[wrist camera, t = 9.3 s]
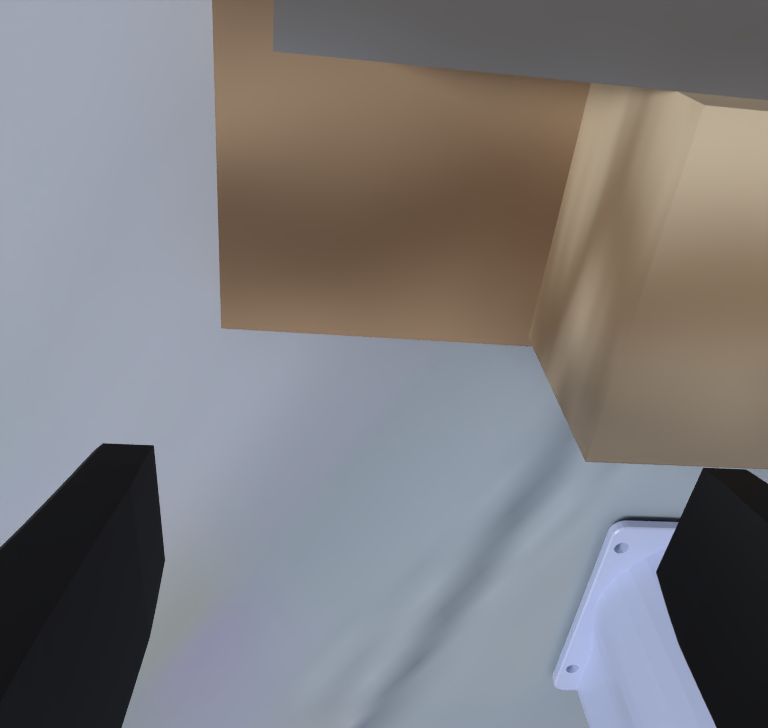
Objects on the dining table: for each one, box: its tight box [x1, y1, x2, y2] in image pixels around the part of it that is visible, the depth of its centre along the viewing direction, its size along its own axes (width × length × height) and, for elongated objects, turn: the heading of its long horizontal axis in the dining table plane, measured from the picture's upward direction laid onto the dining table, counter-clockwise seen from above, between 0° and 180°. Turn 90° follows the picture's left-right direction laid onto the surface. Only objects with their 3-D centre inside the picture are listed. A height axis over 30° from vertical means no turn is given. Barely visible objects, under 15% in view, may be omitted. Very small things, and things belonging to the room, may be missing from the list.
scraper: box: [273, 0, 768, 469], centre depth 14 cm, size 9×17×5 cm, turn 84°
